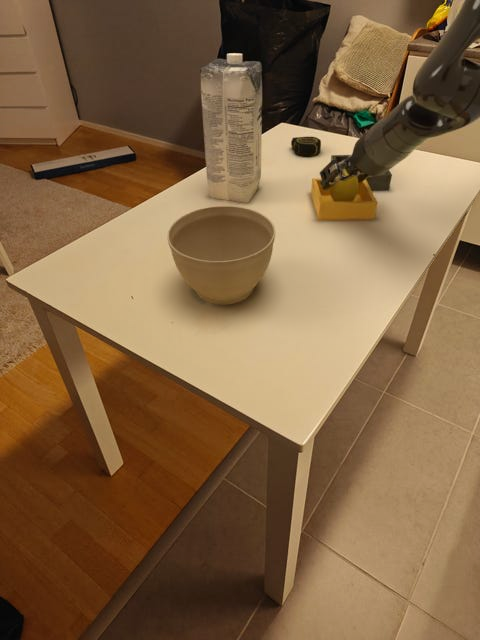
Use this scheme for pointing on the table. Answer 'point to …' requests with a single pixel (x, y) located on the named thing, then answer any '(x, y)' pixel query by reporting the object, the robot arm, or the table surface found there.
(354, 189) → the lemon
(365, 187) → the yellow bin
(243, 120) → the juice carton
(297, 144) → the tape measure
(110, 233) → the table surface
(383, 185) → the dark bin
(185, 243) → the planter bowl
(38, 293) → the table surface
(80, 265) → the table surface
